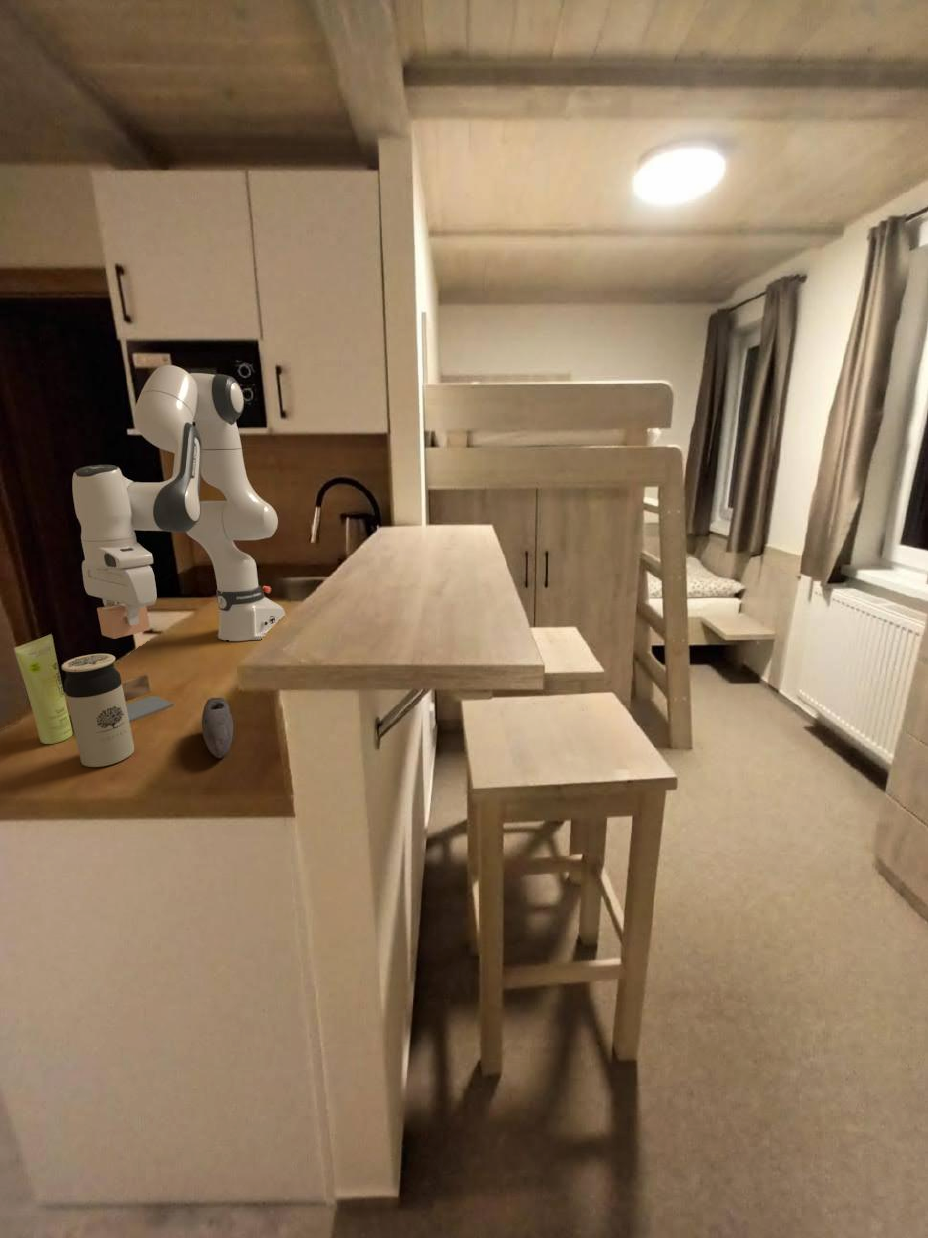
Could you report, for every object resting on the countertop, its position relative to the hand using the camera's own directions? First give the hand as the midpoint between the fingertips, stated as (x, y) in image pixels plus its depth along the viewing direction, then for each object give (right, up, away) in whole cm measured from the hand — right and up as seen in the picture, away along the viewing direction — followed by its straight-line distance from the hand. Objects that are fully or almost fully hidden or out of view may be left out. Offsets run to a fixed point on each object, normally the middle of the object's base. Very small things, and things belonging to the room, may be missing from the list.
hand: (124, 622), depth 108 cm
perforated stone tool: (+23, -23, -8) cm, 33 cm away
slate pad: (0, -18, +5) cm, 19 cm away
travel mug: (+5, -24, -12) cm, 27 cm away
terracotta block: (0, -2, +1) cm, 2 cm away
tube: (-9, -22, -6) cm, 25 cm away
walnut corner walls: (-2, -18, +5) cm, 19 cm away
